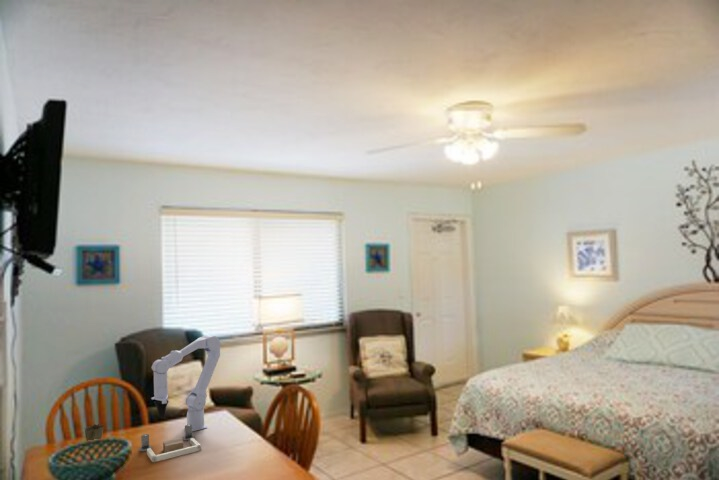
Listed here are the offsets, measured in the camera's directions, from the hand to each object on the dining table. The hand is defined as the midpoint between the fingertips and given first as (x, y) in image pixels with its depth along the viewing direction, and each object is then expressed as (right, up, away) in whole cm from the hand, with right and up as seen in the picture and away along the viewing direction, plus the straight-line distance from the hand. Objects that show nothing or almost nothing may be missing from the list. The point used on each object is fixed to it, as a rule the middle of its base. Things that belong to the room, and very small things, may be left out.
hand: (161, 416), depth 217 cm
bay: (+13, -8, -19) cm, 25 cm away
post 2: (+14, -9, -5) cm, 17 cm away
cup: (-28, -11, -6) cm, 30 cm away
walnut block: (+12, -8, -18) cm, 23 cm away
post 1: (-1, -9, -15) cm, 17 cm away
